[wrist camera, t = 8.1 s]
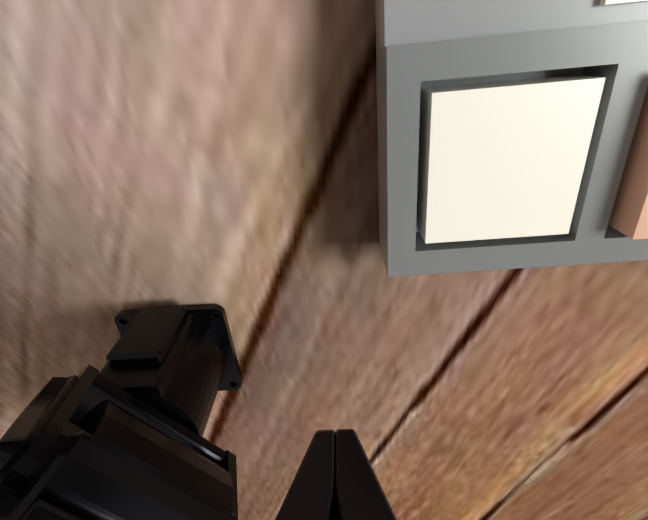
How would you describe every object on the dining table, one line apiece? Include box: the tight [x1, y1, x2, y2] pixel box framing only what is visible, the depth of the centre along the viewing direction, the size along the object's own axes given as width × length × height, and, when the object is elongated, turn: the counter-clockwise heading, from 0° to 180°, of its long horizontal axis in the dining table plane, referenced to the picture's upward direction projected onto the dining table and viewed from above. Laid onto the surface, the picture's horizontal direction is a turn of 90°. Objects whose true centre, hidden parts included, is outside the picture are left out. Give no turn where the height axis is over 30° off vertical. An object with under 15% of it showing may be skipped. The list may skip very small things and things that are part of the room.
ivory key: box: [416, 75, 605, 244], centre depth 16 cm, size 6×6×2 cm
